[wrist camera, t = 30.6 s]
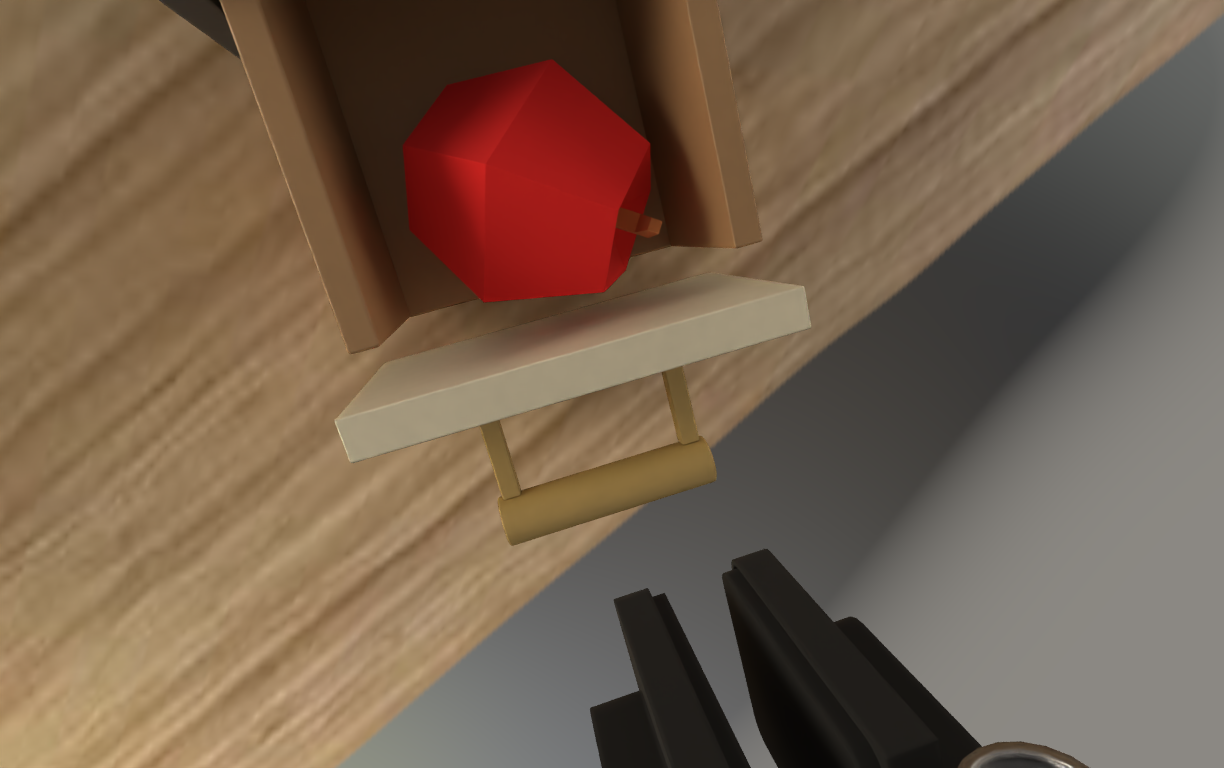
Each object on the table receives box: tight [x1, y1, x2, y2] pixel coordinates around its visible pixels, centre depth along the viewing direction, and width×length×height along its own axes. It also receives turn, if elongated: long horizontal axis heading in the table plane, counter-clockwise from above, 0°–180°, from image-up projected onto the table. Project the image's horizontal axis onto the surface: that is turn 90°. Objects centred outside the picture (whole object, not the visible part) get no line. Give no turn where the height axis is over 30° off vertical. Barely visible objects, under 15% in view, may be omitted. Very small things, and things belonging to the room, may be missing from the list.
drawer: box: [220, 0, 811, 546], centre depth 20 cm, size 21×13×8 cm, turn 14°
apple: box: [403, 59, 663, 302], centre depth 19 cm, size 7×7×8 cm
